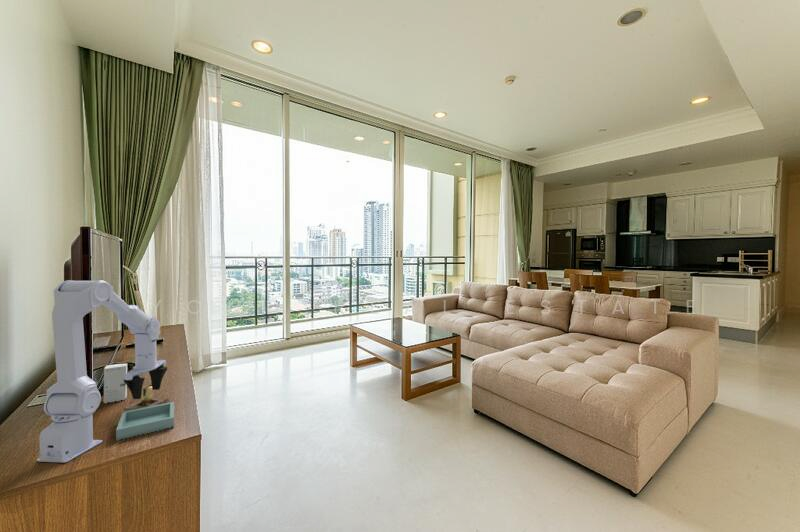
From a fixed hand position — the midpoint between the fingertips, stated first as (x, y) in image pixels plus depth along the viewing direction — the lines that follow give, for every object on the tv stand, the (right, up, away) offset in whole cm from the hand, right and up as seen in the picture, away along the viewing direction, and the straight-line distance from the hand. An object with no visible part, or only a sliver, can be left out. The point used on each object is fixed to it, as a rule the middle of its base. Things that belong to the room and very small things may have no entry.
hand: (146, 393), depth 112 cm
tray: (+9, -5, -12) cm, 16 cm away
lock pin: (0, -5, 0) cm, 5 cm away
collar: (0, -5, 0) cm, 5 cm away
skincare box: (-16, -5, +6) cm, 17 cm away
